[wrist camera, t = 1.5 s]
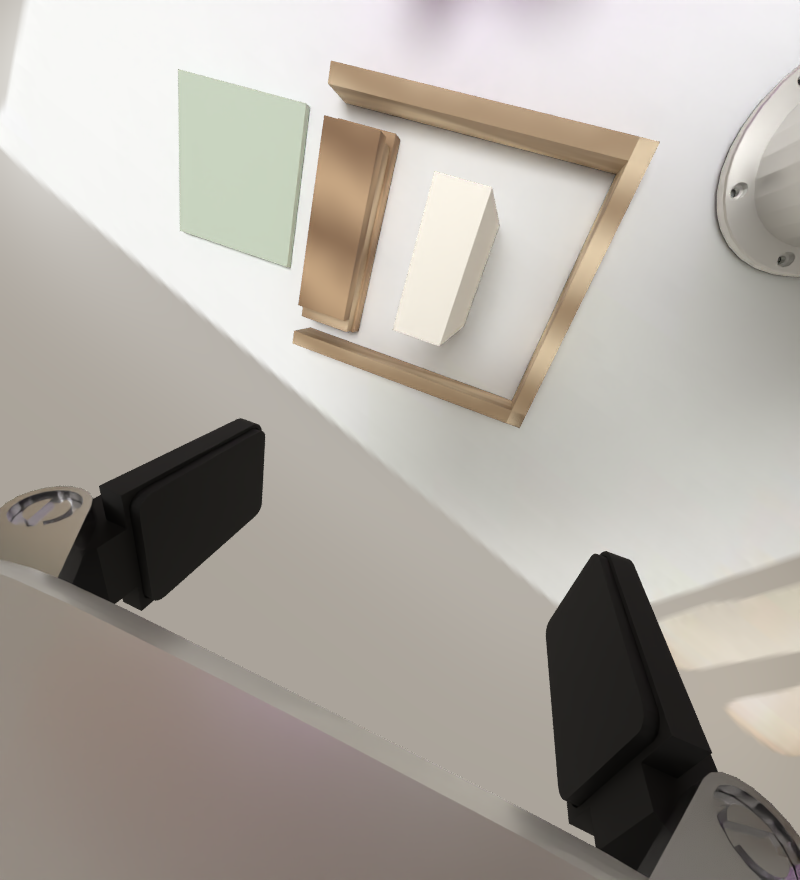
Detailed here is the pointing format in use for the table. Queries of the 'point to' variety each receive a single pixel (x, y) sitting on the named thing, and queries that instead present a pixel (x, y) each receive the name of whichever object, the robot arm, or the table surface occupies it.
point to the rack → (514, 130)
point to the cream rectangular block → (447, 259)
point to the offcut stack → (345, 220)
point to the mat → (240, 165)
